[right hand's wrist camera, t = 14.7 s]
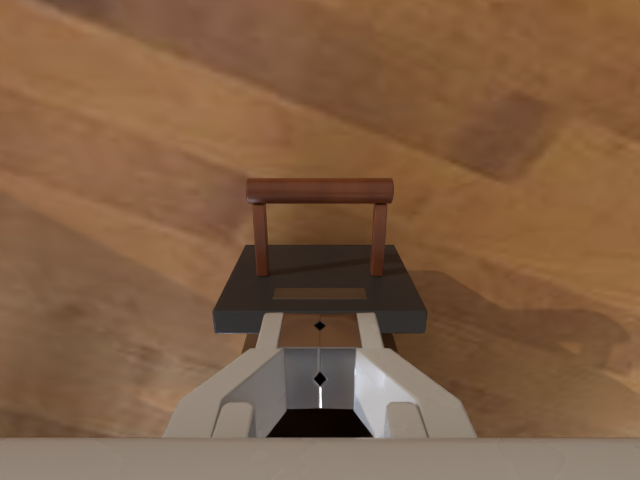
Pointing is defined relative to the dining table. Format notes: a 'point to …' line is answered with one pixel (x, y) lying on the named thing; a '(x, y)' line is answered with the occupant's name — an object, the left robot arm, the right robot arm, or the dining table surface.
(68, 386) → the dining table surface
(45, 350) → the dining table surface
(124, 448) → the right robot arm
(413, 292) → the drawer
